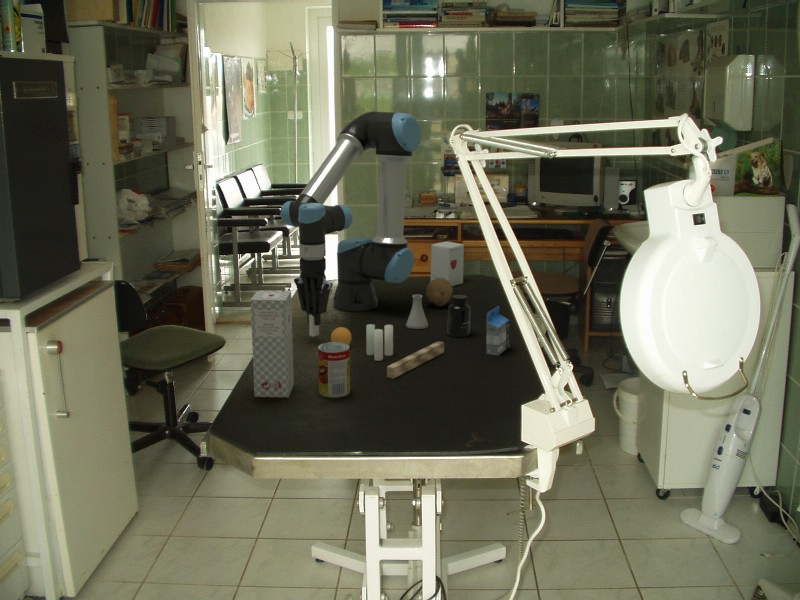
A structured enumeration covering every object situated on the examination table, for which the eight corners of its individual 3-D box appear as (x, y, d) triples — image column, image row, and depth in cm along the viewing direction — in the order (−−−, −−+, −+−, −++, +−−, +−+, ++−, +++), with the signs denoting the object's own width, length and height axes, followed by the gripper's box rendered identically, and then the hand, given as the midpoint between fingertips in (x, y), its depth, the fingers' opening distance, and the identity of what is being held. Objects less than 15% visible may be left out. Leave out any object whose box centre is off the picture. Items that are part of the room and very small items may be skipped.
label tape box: (498, 356, 249) (499, 314, 246) (484, 354, 251) (486, 312, 248) (509, 347, 257) (511, 307, 253) (497, 345, 259) (498, 305, 255)
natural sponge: (444, 311, 292) (444, 282, 290) (420, 308, 297) (421, 279, 294) (456, 305, 300) (457, 277, 297) (433, 301, 304) (433, 273, 301)
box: (254, 396, 219) (250, 299, 212) (261, 384, 227) (257, 290, 220) (288, 397, 219) (285, 300, 212) (293, 385, 227) (291, 291, 220)
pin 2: (387, 352, 252) (387, 324, 250) (394, 354, 251) (394, 325, 248) (382, 354, 250) (382, 326, 248) (389, 356, 249) (389, 327, 246)
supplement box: (448, 287, 323) (449, 247, 319) (429, 283, 329) (430, 244, 325) (463, 283, 329) (464, 244, 325) (445, 279, 335) (446, 240, 331)
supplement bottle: (468, 338, 265) (469, 300, 261) (445, 337, 266) (446, 298, 263) (471, 331, 271) (472, 294, 268) (449, 330, 272) (449, 293, 269)
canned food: (342, 384, 227) (341, 340, 224) (355, 394, 221) (355, 348, 218) (314, 389, 224) (313, 344, 221) (326, 399, 217) (325, 353, 214)
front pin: (369, 352, 252) (369, 323, 250) (376, 353, 251) (376, 325, 249) (364, 354, 250) (364, 325, 248) (371, 355, 249) (371, 327, 247)
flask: (406, 330, 273) (406, 298, 270) (405, 323, 280) (405, 292, 277) (429, 329, 273) (429, 298, 271) (427, 323, 280) (428, 292, 278)
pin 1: (377, 357, 248) (377, 328, 246) (384, 358, 247) (384, 329, 244) (372, 359, 246) (372, 330, 244) (379, 361, 245) (379, 332, 242)
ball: (339, 342, 260) (339, 323, 259) (355, 346, 257) (355, 326, 255) (326, 348, 255) (326, 328, 254) (343, 351, 252) (343, 332, 251)
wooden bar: (438, 351, 253) (438, 341, 252) (444, 352, 252) (444, 342, 251) (386, 377, 232) (386, 366, 232) (393, 378, 231) (393, 368, 231)
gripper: (286, 256, 255) (289, 334, 261) (322, 262, 248) (323, 342, 255) (303, 252, 261) (305, 328, 267) (338, 257, 254) (339, 335, 261)
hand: (314, 335), depth 261 cm, fingers closed
